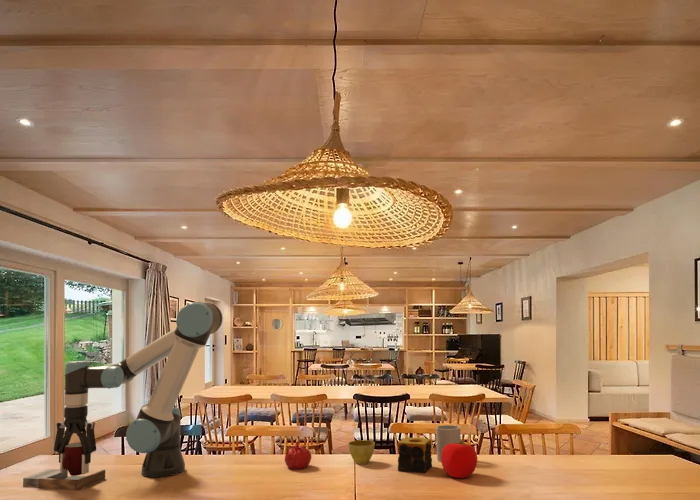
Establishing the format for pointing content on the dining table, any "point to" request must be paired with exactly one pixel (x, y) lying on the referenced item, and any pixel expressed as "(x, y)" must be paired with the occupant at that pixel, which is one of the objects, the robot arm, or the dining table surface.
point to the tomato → (459, 459)
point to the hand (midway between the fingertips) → (74, 472)
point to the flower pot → (361, 450)
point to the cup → (446, 437)
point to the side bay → (62, 480)
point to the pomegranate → (297, 457)
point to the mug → (73, 458)
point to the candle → (414, 455)
